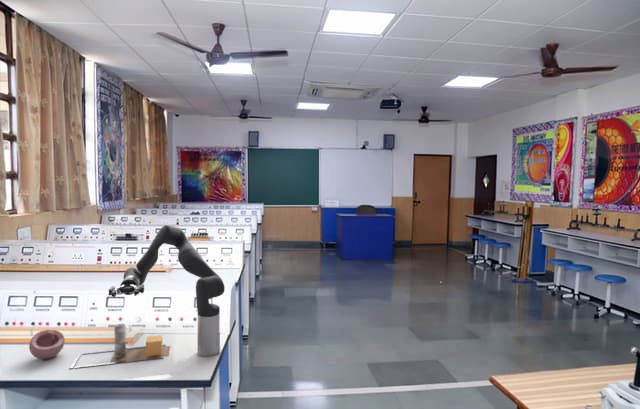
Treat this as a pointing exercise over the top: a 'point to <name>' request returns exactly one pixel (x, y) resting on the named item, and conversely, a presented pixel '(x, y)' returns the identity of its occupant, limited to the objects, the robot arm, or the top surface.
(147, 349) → the cube
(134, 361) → the track
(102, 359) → the top surface
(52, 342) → the pink round bowl
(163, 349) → the grey post on base
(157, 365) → the top surface
